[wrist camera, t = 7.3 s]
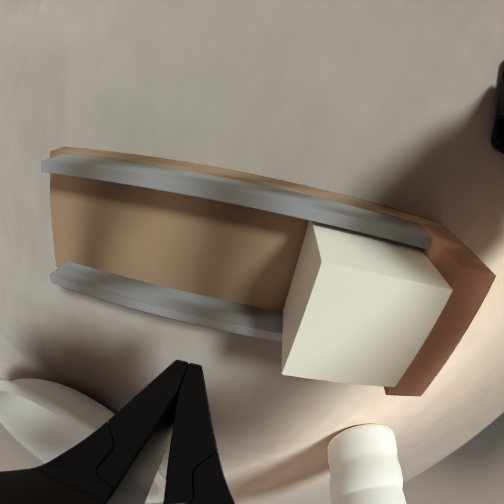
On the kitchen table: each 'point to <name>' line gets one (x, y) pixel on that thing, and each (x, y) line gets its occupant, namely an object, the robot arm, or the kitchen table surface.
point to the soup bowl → (55, 420)
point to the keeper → (358, 307)
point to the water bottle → (365, 466)
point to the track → (228, 245)
